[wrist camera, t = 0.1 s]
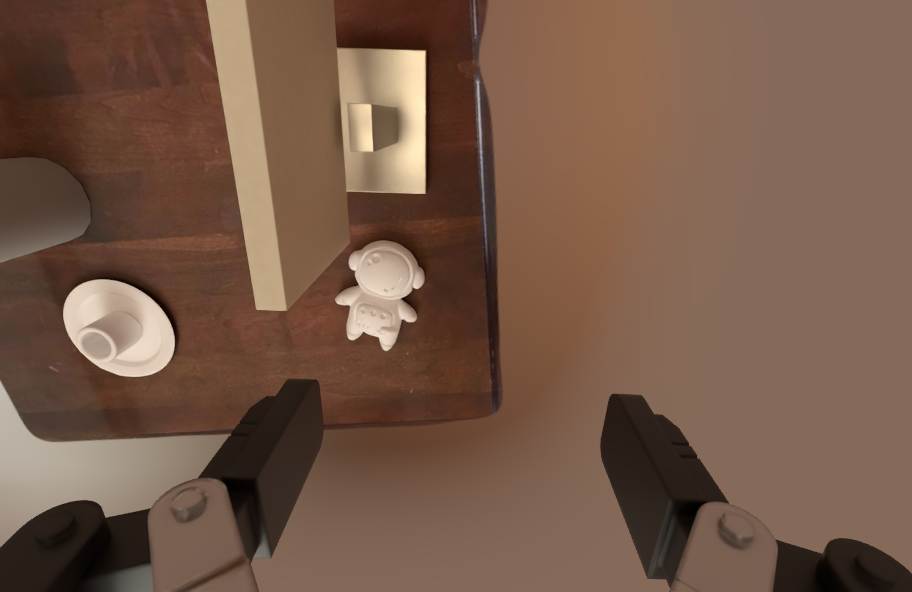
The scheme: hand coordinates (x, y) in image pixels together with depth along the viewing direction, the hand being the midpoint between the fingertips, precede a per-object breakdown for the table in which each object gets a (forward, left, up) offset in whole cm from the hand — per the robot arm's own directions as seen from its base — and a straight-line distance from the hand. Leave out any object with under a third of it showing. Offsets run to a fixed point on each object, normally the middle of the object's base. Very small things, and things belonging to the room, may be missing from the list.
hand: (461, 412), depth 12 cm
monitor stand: (-7, -8, -33) cm, 35 cm away
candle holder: (+15, -38, -33) cm, 53 cm away
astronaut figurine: (+10, -9, -33) cm, 36 cm away
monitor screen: (-7, -10, -23) cm, 26 cm away
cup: (+1, -42, -33) cm, 53 cm away
